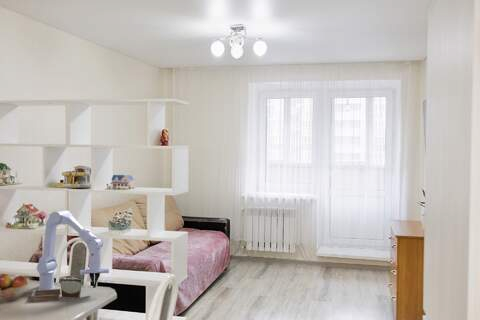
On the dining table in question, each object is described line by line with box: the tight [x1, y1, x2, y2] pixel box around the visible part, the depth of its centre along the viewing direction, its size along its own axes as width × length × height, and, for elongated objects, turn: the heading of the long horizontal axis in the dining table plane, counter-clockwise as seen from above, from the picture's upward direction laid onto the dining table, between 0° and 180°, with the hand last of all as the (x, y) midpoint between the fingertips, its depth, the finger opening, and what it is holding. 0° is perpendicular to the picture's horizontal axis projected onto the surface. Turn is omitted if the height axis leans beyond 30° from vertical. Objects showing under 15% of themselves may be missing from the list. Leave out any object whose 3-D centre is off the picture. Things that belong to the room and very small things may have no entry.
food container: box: [58, 275, 84, 299], centre depth 245 cm, size 12×6×10 cm, turn 84°
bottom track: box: [30, 288, 61, 303], centre depth 241 cm, size 11×13×3 cm
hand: (94, 287), depth 248 cm, fingers closed
